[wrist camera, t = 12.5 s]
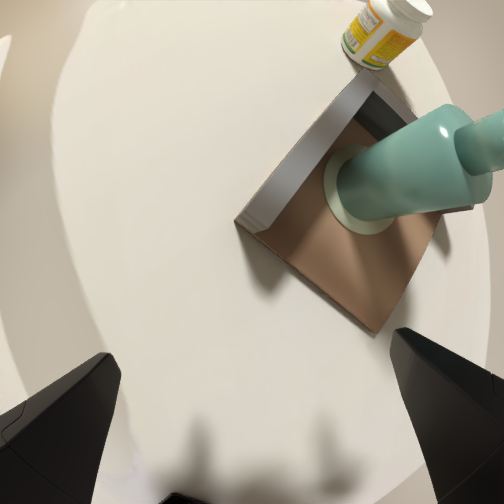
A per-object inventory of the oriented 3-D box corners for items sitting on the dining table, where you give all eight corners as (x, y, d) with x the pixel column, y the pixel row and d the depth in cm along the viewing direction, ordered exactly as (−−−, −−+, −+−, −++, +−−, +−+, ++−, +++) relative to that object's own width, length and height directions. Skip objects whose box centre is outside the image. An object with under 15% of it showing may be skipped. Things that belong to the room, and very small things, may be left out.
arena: (372, 331, 21) (409, 347, 16) (233, 220, 19) (244, 210, 14) (440, 203, 22) (476, 196, 17) (337, 95, 20) (364, 67, 15)
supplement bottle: (330, 45, 20) (377, -18, 11) (352, 27, 21) (395, -26, 11) (374, 80, 21) (434, 28, 11) (391, 59, 22) (443, 13, 12)
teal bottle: (372, 235, 19) (539, 220, 6) (324, 190, 19) (487, 115, 5) (399, 187, 20) (542, 146, 7) (356, 144, 19) (492, 61, 6)
